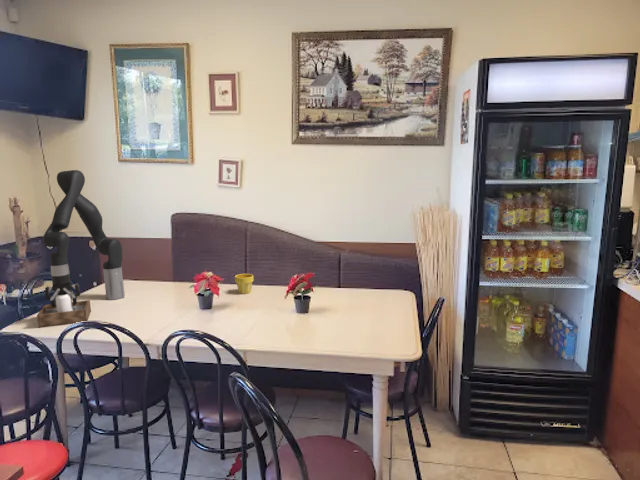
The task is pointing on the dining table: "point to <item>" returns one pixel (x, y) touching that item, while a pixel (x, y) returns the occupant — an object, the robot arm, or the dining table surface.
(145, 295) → the dining table surface
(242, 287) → the plant pot
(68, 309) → the can
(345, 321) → the dining table surface
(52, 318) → the box
